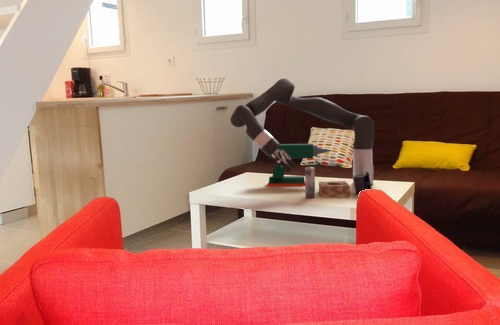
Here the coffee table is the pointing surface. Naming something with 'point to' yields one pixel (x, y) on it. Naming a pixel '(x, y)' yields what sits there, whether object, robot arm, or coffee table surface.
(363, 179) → the speaker
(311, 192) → the grey upright block
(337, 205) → the coffee table surface
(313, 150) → the power tool
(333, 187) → the block
